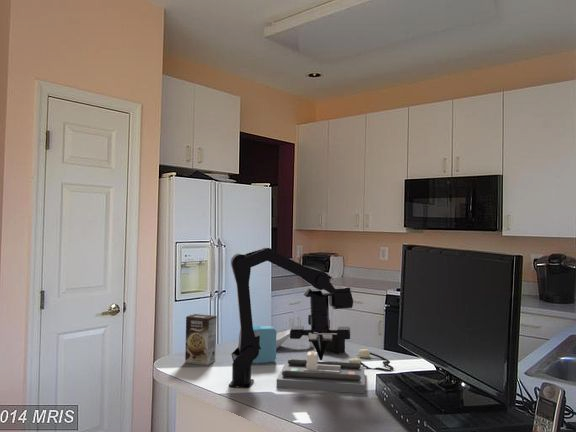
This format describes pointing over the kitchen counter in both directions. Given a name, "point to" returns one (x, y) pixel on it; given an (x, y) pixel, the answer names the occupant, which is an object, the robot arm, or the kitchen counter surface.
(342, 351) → the digital camera
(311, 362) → the knob
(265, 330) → the data package
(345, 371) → the panel
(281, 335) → the spoon rest
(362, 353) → the cable
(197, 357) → the coffee box
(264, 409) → the kitchen counter surface
